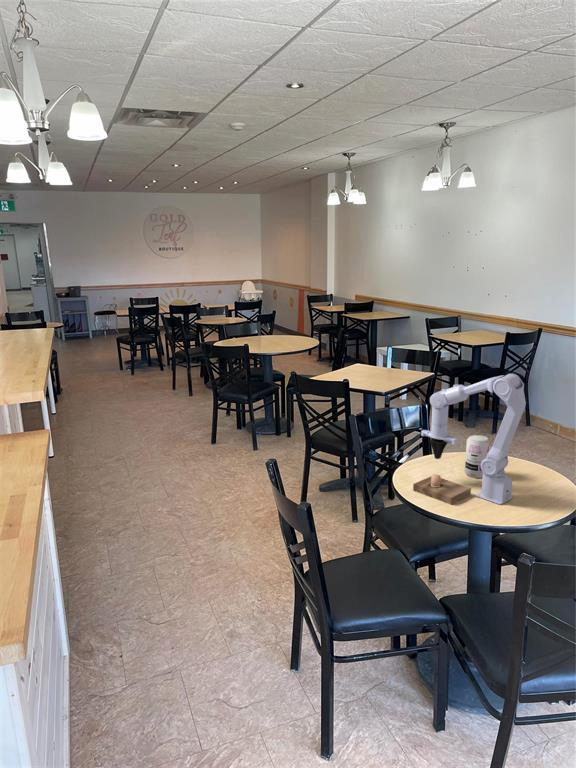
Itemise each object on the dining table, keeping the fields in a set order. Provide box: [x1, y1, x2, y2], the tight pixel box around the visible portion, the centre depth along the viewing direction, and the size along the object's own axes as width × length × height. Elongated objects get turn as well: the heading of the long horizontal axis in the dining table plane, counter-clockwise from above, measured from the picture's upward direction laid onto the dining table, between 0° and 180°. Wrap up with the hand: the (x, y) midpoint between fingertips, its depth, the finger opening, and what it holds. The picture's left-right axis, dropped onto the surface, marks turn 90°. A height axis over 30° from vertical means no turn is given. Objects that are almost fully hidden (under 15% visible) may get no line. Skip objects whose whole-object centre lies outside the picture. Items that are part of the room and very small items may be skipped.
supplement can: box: [464, 434, 490, 479], centre depth 212 cm, size 8×8×15 cm
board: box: [412, 476, 472, 505], centre depth 198 cm, size 16×12×2 cm
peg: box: [431, 473, 442, 488], centre depth 198 cm, size 3×3×6 cm
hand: (437, 458), depth 206 cm, fingers closed
